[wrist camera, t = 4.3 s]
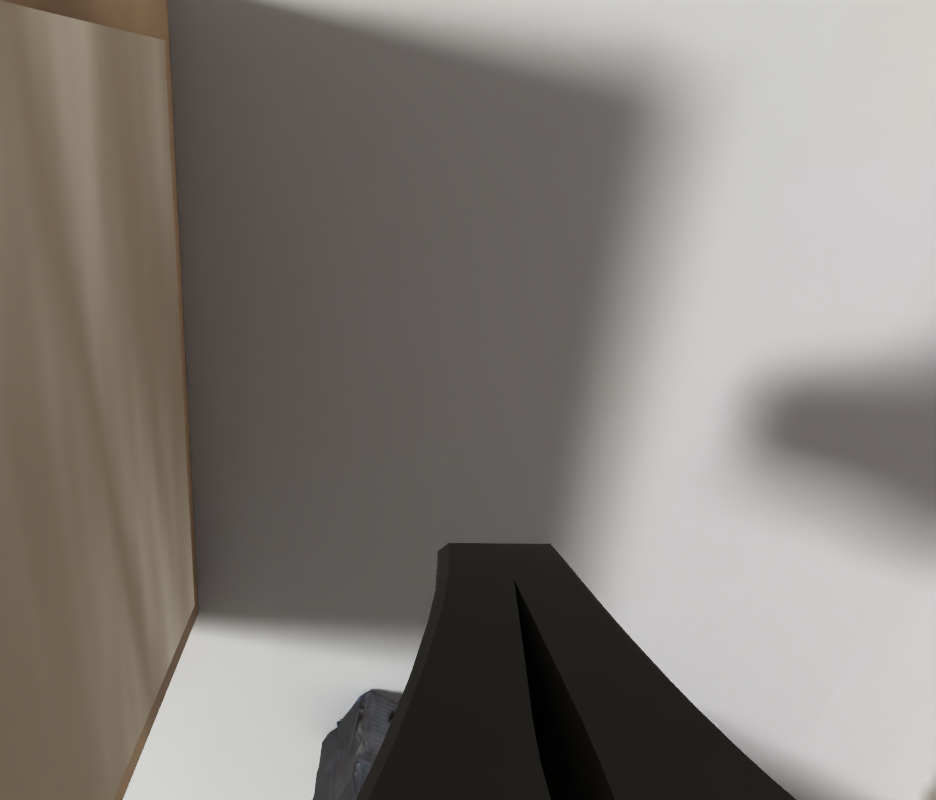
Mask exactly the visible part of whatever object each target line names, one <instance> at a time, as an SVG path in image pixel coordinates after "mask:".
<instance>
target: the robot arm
mask: <svg viewBox="0 0 936 800" xmlns="http://www.w3.org/2000/svg"><path fill="white" fill-rule="evenodd" d="M356 800H796V799H795V798H794V797H792V796H791V795H790V794H789V793H788V792H787V791H785V790H784V789H783V788H782V787H781V786H779V785H778V784H777V783H776V782H775V781H774V780H773V779H771V778H770V777H769V776H768V775H767V774H766V773H765V772H764V771H763V770H761V769H760V768H759V767H758V766H757V765H756V764H755V763H754V762H753V761H752V760H750V759H749V758H748V757H747V756H746V755H745V754H744V753H743V752H742V751H741V750H740V749H739V748H737V747H736V746H735V745H734V744H733V743H732V742H731V741H730V740H729V739H728V738H727V737H726V736H725V735H724V734H723V733H722V732H721V731H720V730H719V729H718V728H717V727H716V726H715V725H714V724H713V723H712V722H711V721H710V720H709V719H708V718H707V717H706V716H705V715H703V714H702V713H701V712H700V711H699V710H698V709H697V708H696V707H695V706H694V705H693V704H692V703H691V702H690V701H689V700H688V699H687V697H686V696H685V695H684V694H683V693H682V692H681V691H680V690H679V689H678V688H677V687H676V686H675V685H674V684H673V683H672V682H671V681H670V680H669V679H668V678H667V677H666V676H665V674H664V673H663V672H662V671H661V670H660V669H659V668H658V667H657V666H656V665H655V664H654V663H653V661H652V660H651V659H650V658H649V657H648V656H647V655H646V654H645V653H644V652H643V651H642V650H641V648H640V647H639V646H638V645H637V644H636V643H635V642H634V641H633V640H632V639H631V638H630V636H629V635H628V634H627V633H626V632H625V631H624V630H623V629H622V627H621V626H620V625H619V624H618V623H617V622H616V621H615V619H614V618H613V617H612V616H611V615H610V614H609V612H608V611H607V610H606V609H605V608H604V607H603V605H602V604H601V603H600V602H599V601H598V600H597V598H596V597H595V596H594V595H593V594H592V593H591V591H590V590H589V589H588V588H587V587H586V585H585V584H584V583H583V582H582V581H581V579H580V578H579V577H578V576H577V575H576V573H575V572H574V571H573V570H572V569H571V567H570V566H569V565H568V564H567V563H566V561H565V560H564V559H563V558H562V557H561V556H560V554H559V553H558V552H557V551H556V550H555V549H554V548H553V547H552V545H551V544H486V543H448V544H447V545H445V546H444V547H443V548H442V549H440V550H439V551H438V558H437V575H436V590H435V595H434V600H433V604H432V608H431V612H430V616H429V620H428V623H427V626H426V629H425V632H424V635H423V638H422V641H421V645H420V648H419V651H418V654H417V657H416V660H415V663H414V666H413V669H412V672H411V674H410V677H409V680H408V682H407V685H406V687H405V690H404V692H403V695H402V697H401V699H400V702H399V704H398V707H397V709H396V711H395V714H394V716H393V719H392V721H391V723H390V726H389V728H388V731H387V733H386V735H385V738H384V740H383V743H382V745H381V747H380V749H379V752H378V754H377V756H376V758H375V760H374V762H373V765H372V767H371V769H370V771H369V773H368V775H367V777H366V780H365V782H364V784H363V786H362V788H361V790H360V792H359V794H358V796H357V798H356Z"/></svg>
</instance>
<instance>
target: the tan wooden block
mask: <svg viewBox="0 0 936 800" xmlns="http://www.w3.org/2000/svg"><path fill="white" fill-rule="evenodd" d="M197 615H198V594H197V575H196V555H195V536H194V516H193V496H192V477H191V457H190V438H189V418H188V399H187V379H186V360H185V340H184V321H183V301H182V281H181V262H180V242H179V223H178V203H177V184H176V164H175V145H174V125H173V106H172V86H171V66H170V47H169V27H168V8H167V0H0V800H122V799H123V797H124V794H125V792H126V789H127V787H128V785H129V782H130V780H131V777H132V775H133V772H134V770H135V767H136V765H137V762H138V760H139V757H140V755H141V753H142V750H143V748H144V745H145V743H146V740H147V738H148V735H149V733H150V730H151V728H152V725H153V723H154V721H155V718H156V716H157V713H158V711H159V708H160V706H161V703H162V701H163V698H164V696H165V693H166V691H167V689H168V686H169V684H170V681H171V679H172V676H173V674H174V671H175V669H176V666H177V664H178V661H179V659H180V657H181V654H182V652H183V649H184V647H185V644H186V642H187V639H188V637H189V634H190V632H191V629H192V627H193V625H194V622H195V620H196V617H197Z"/></svg>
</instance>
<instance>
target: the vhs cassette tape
mask: <svg viewBox="0 0 936 800" xmlns="http://www.w3.org/2000/svg"><path fill="white" fill-rule="evenodd" d="M397 707H398V703H396V702H394V701H392V700H389V699H387V698H385V697H383V696H381V695H378V694H376V693H374V692H367V693H365V694H363V695H362V696H360V697H359V698H358V700H357V701H356V702H355V704H354V705H353V707H352V708H351V709H350V710H349V712H348V713H347V714H346V715H345V717H344V718H343V719H342V721H338V722H337V726H338V728H336V729H335V730H333V731H331V732H330V733H329V734H328V735H327V737H326V738H325V740H324V741H323V742H322V749H321V756H320V763H319V768H318V771H317V777H316V786H315V794H314V798H313V800H356V798H357V796H358V794H359V792H360V790H361V788H362V786H363V784H364V782H365V780H366V777H367V775H368V773H369V771H370V769H371V767H372V765H373V762H374V760H375V758H376V756H377V754H378V752H379V749H380V747H381V745H382V743H383V740H384V738H385V735H386V733H387V731H388V728H389V726H390V723H391V721H392V719H393V716H394V714H395V711H396V709H397Z"/></svg>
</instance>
